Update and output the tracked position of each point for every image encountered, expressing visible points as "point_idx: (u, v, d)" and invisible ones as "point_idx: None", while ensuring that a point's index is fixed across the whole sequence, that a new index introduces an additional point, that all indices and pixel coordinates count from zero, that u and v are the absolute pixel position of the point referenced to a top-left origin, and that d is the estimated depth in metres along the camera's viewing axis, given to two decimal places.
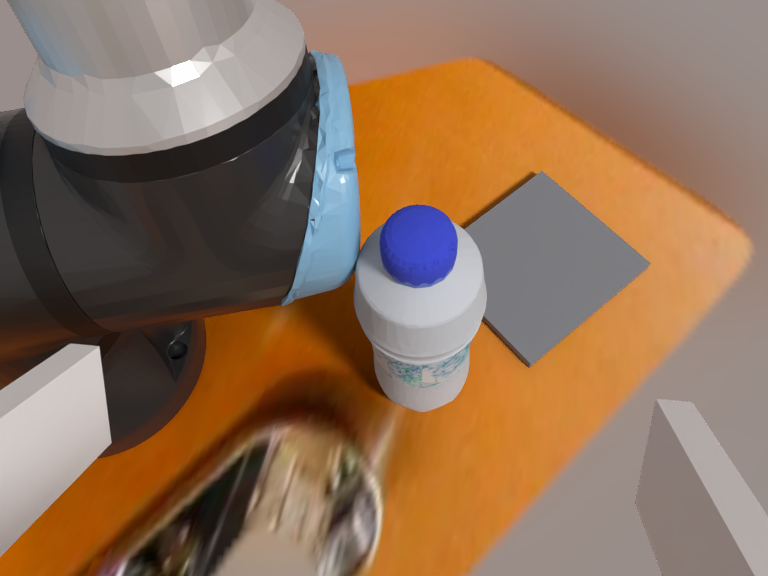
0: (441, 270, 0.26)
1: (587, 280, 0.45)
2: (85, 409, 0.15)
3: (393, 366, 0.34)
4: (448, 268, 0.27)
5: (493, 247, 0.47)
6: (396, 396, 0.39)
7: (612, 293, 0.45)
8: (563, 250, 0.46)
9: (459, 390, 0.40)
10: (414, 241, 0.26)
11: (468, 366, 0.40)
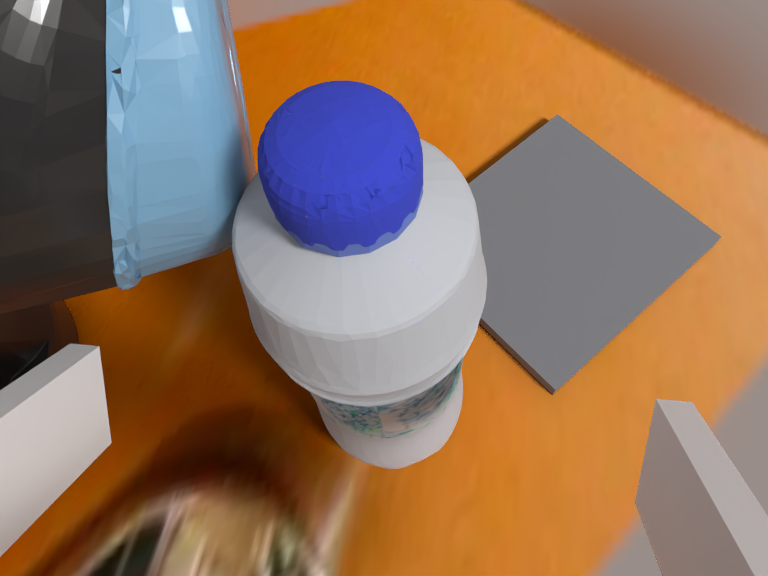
0: (387, 214, 0.12)
1: (631, 264, 0.31)
2: (85, 409, 0.15)
3: (331, 407, 0.20)
4: (404, 210, 0.12)
5: (493, 221, 0.33)
6: (350, 449, 0.25)
7: (669, 281, 0.31)
8: (593, 222, 0.32)
9: (449, 435, 0.26)
10: (324, 148, 0.12)
11: (461, 398, 0.26)
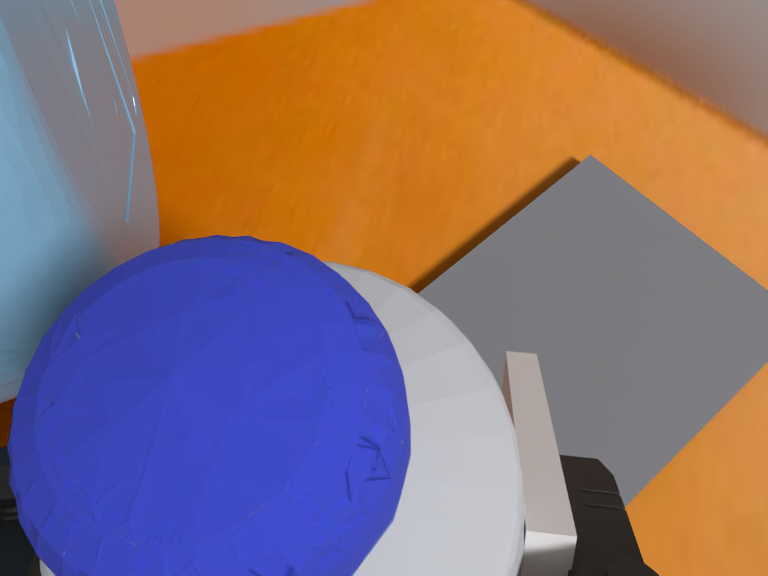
0: None
1: (692, 357, 0.24)
2: None
3: None
4: (363, 551, 0.05)
5: (511, 295, 0.26)
6: None
7: (743, 382, 0.23)
8: (640, 299, 0.25)
9: None
10: (143, 454, 0.04)
11: None
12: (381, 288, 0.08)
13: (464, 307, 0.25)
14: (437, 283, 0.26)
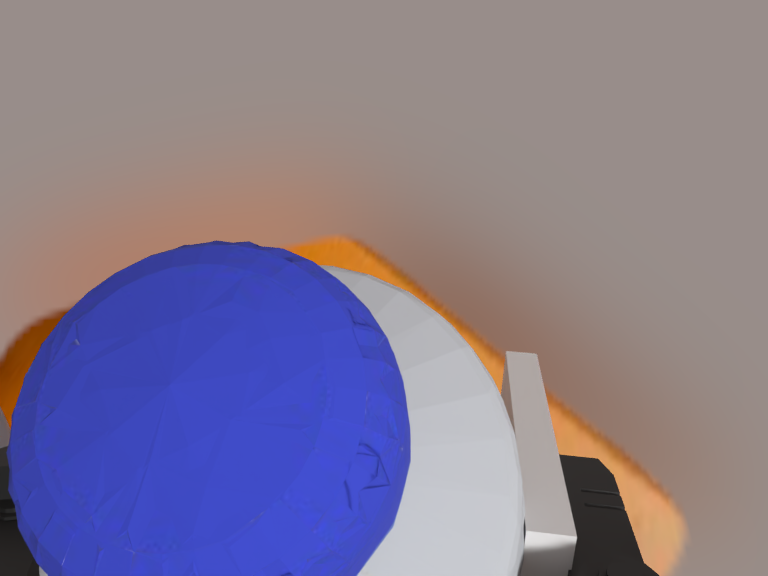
0: None
1: None
2: None
3: None
4: (362, 558, 0.05)
5: None
6: None
7: None
8: None
9: None
10: (142, 462, 0.04)
11: None
12: (381, 292, 0.08)
13: None
14: None
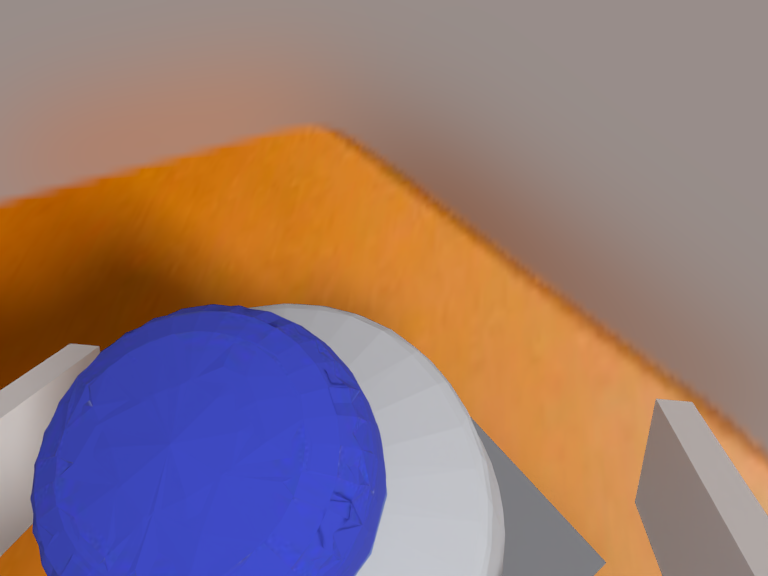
0: None
1: None
2: None
3: None
4: None
5: None
6: None
7: None
8: None
9: None
10: (147, 511, 0.05)
11: None
12: (365, 332, 0.09)
13: None
14: None
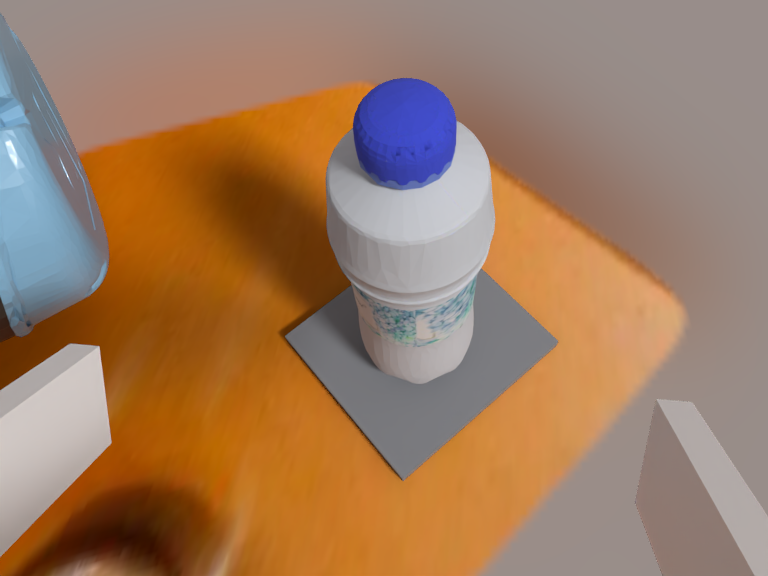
0: (436, 160, 0.20)
1: (479, 364, 0.36)
2: (85, 409, 0.15)
3: (380, 316, 0.27)
4: (445, 159, 0.20)
5: None
6: (387, 363, 0.33)
7: (509, 382, 0.36)
8: None
9: (462, 355, 0.34)
10: (398, 118, 0.19)
11: (472, 325, 0.33)
12: None
13: (335, 330, 0.38)
14: (318, 313, 0.38)
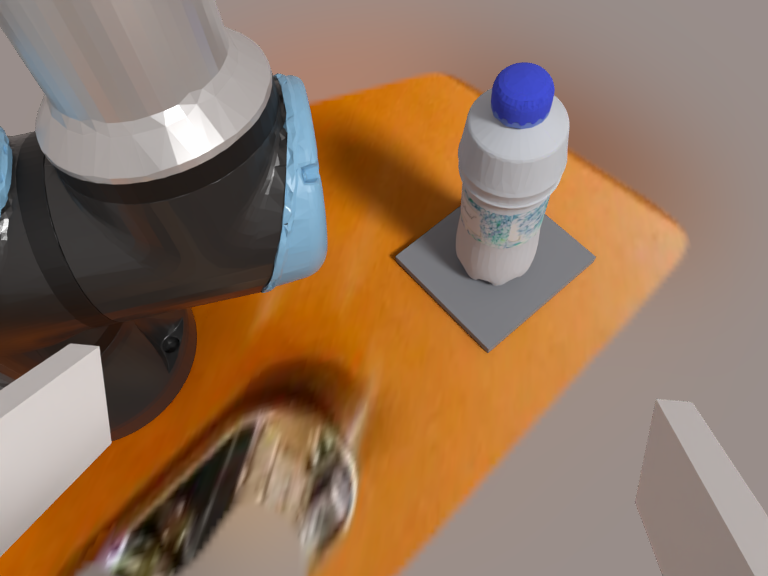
0: (543, 110, 0.34)
1: (539, 273, 0.50)
2: (85, 409, 0.15)
3: (486, 223, 0.42)
4: (547, 110, 0.34)
5: (455, 245, 0.52)
6: (479, 265, 0.47)
7: (561, 284, 0.50)
8: None
9: (530, 262, 0.48)
10: (523, 85, 0.33)
11: (538, 240, 0.47)
12: None
13: (432, 251, 0.52)
14: (419, 240, 0.52)
